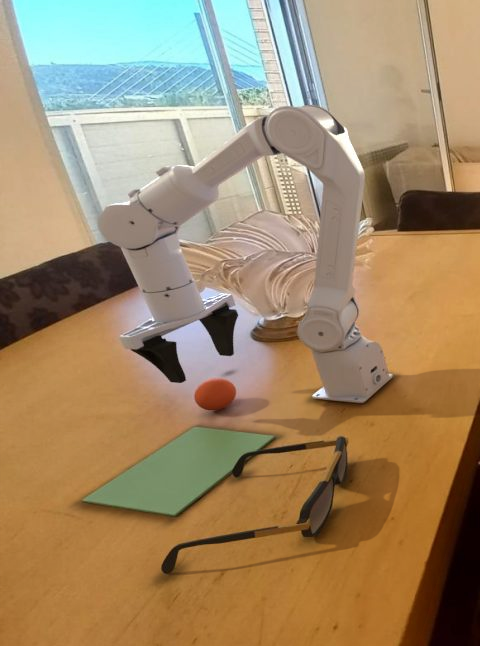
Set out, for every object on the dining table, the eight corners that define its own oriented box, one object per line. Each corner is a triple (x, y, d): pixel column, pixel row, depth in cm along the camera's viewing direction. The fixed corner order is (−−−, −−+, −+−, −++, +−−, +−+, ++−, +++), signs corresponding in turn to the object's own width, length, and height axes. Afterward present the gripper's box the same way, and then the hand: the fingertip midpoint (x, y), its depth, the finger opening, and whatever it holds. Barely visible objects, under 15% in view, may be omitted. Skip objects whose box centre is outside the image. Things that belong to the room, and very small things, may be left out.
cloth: (275, 437, 68) (274, 435, 68) (175, 516, 55) (174, 514, 55) (195, 428, 71) (194, 426, 70) (82, 501, 58) (81, 500, 58)
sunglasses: (235, 476, 61) (221, 446, 59) (362, 456, 64) (352, 427, 62) (164, 575, 48) (143, 540, 46) (325, 545, 51) (312, 511, 49)
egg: (248, 399, 77) (238, 373, 75) (219, 418, 72) (207, 391, 71) (223, 396, 78) (211, 370, 76) (192, 415, 73) (180, 388, 71)
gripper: (195, 266, 74) (226, 342, 80) (84, 304, 61) (130, 392, 67) (233, 268, 73) (261, 345, 78) (127, 307, 60) (170, 396, 65)
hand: (203, 367), depth 72 cm, fingers open, 7 cm apart
